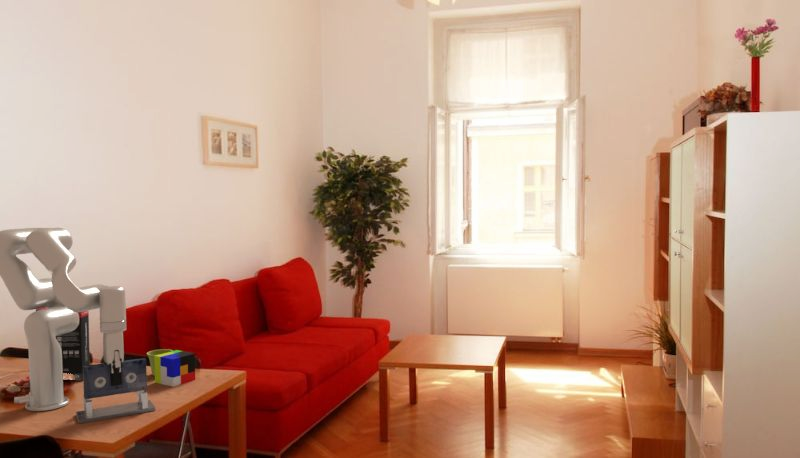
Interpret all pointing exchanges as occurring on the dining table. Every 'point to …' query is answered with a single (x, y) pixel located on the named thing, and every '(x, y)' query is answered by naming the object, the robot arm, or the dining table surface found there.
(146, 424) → the dining table surface
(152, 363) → the plant pot
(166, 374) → the puzzle toy
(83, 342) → the graphics card box
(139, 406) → the rack
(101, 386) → the vhs cassette tape
